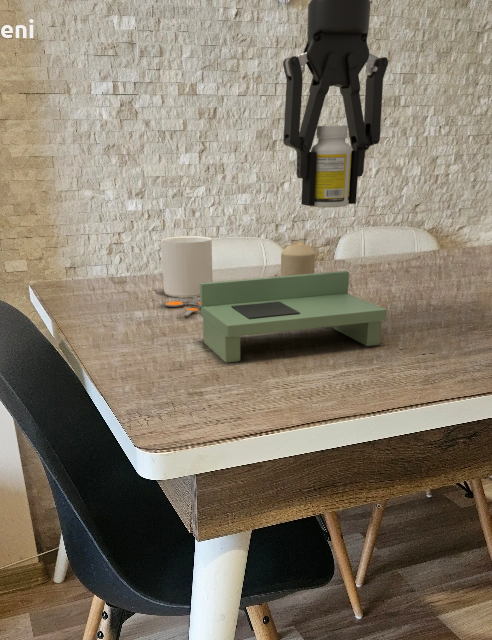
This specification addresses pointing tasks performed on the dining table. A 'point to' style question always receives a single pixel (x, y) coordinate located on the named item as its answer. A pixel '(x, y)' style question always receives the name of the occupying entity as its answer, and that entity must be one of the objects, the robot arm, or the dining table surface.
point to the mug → (186, 264)
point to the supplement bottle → (332, 167)
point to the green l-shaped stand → (284, 309)
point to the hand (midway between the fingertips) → (328, 203)
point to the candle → (297, 259)
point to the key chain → (193, 302)
